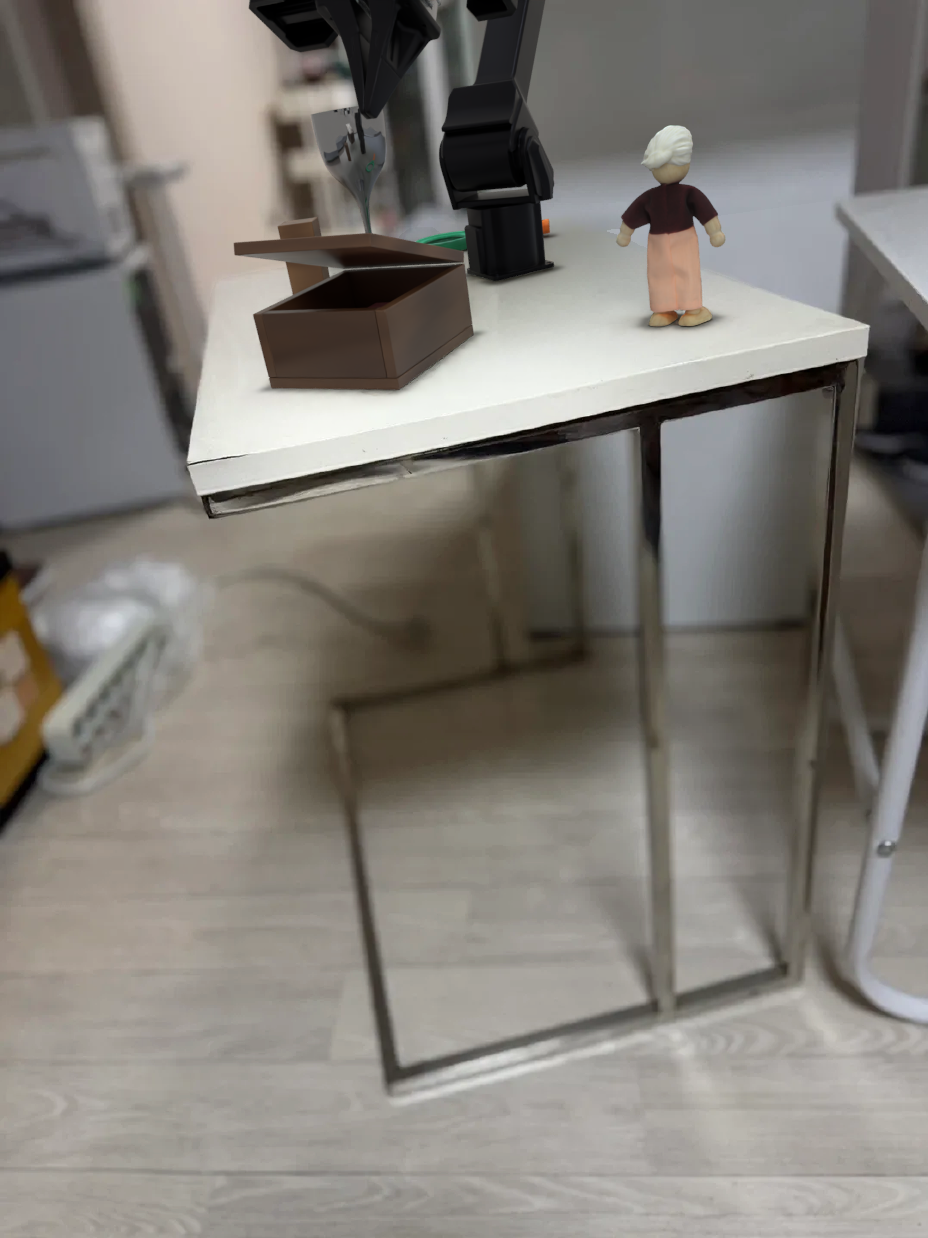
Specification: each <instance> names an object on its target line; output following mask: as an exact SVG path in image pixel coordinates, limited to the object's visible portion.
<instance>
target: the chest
mask: <svg viewBox="0 0 928 1238" xmlns="http://www.w3.org/2000/svg"><path fill="white" fill-rule="evenodd" d="M382 302H389V303H388V304H386V305H384V306H382V307H381V308H380V307H373V308H368V307H369V306H371V305H373V304H375V303H382ZM252 316H253V321H254V326H255V328H256V333H257V337H258V340H259V345H260V349H261V352H262V356H263V361H264V364H265V369H266V373H267V377H268V381H269V384H270V388H271V389H288V390H289V389H290V390H291V389H292V390H293V389H294V390H298V389H299V390H300V389H301V390H377V391H378V390H382V391H383V390H385V391H387V390H389V391H390V390H391V391H399V390H401V389H403V388H404V387H405V386H407V384H409V383H410V382H411V381H413V380H414V379H416V378H417V377H419V376H420V375H421V374H422V373H424V372H425V371H427V370H428V369H430V368H431V367H432V366H433V365H435V364H436V363H437V362H439V361H440V360H441V359H443V358H444V357H445V356H447V355H448V354H450V353H451V352H452V351H454V350H455V349H456V348H458V347H459V346H460V345H462V344H463V343H465V341H467V340H468V339H470V338H472V337H473V336H474V334H475V332H474V325H473V316H472V311H471V302H470V294H469V287H468V278H467V269H466V264H465V263H448V264H429V265H410V266H391V267H373V268H354V269H343V270H342V271H340V272H337V273H335V274H334V275H331V276H330V277H329V278H327V279H325V280H323V281H321V282H319V283H317V284H315V285H313V286H311V287H308V288H306V289H304V290H302V291H300V292H298V293H296V294H294V295H293V294H292V295H290V296H287V297H286V298H284V299H281V300H279V301H277V302H276V303H273V304H271V305H269V306H267V307H265V308H263V309H261V310H259V311H256V312H255V313H253V314H252Z"/></svg>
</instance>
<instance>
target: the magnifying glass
mask: <svg viewBox="0 0 928 1238" xmlns="http://www.w3.org/2000/svg"><path fill="white" fill-rule="evenodd" d="M542 226H543V235H547V234H550V233H551V228H550V219H549V218H544V219H542ZM415 242H419V243H424V244H429V245H434V246H439V247H445V248H450V249H455V250H460V251H465V250H467V246H466V238H465V230H456V231H449V232H442V233H437V234H433V235H429V236H425V237H423V238H422V237H421V238H420V239H419V238H418V239H417V240H415Z"/></svg>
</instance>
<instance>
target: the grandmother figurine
mask: <svg viewBox="0 0 928 1238" xmlns="http://www.w3.org/2000/svg"><path fill="white" fill-rule="evenodd" d="M692 138H693V135H692V134H691V130H689V129H687V128H686V127H685V126H682V125H667V126H665V127H664V128H662V129H661V130H659V131H657V132H656V133H655V135H654V136H653V137H652V138H650V141H649V143H648V144H647V147H646V150H645V151H644V154H643V159H642V161H641V163H640V166H644V167H645V168H646V169H648V170H649V171H650V172H651V174H652V177H653V178H654V180H656V182H658V183H659V184H660V185H657V186H654V187H651V188H649V189H647V190H645V191H644V192H642V193H641V194H640V195H638V196H637V197H636V198H635V199H633V201H632V202H631V203H630V204H629V205H628V207H627V208H626V209H625V210H624V212H623V213H622V214H621V216H620V218H621V220H622V221H621V224H620V227H619V233H618V234H617V236H616V239H615V242H616V244H617V246H619V247H620V248H625V247H627V246H629V245H630V243H631V241H632V235H633V234H634V233H635V231H636V229H639V228H642V227H644V226H646V225H649V230H648V234H647V246H646V247H647V248H646V249H647V250H646V251H647V252H646V277H647V280H646V281H647V288H648V298H649V299H648V301H649V311H651V312H653V313H652V314H651V316H650V319H649V322H648V326H650V327H665V326H669V325H670V324H672V323H675V321H676V320H678V323H677V325H679V326H681V327H694V326H697V325H700V324H703V323H705V322H708V321H710V320H711V319H713V315H712V312H711V310H710V309H709V308H707V307H706V306H703V285H702V273H701V258H700V243H699V236H698V232H697V230H696V226H695V222H694V218H695V219H696V220H697V221H698V222H699V224H701V226H702V227H703V228H704V230H705V233H706V235H708V237H709V243H710V245H711V246H712V247H714V248H720V247H722V246H723V245H725V243H726V235H725V233H724V232H723V231H722V224H721V221H720V219H719V213H718V211H717V210H716V208H715V207H714V205H713V203H712V202H711V201H710V199H709V198H708V197H707V195H706V194H705V193H704V192H703V191H702V190H701V189H700V188H697V187H696V186H694V185H691V184H686V183H681V182H682V181H683V180H684V179H685V178H686V177H687V175H688V173H689V171H690V168H691V159H692V154H693V147H694V143H693V139H692ZM677 311H685V312H684V313H683V314H682V315H681V316H680V318H679V315H678V313H677ZM678 318H679V319H678Z"/></svg>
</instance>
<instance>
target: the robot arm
mask: <svg viewBox="0 0 928 1238" xmlns="http://www.w3.org/2000/svg"><path fill="white" fill-rule="evenodd" d="M545 4H546V0H466V5H465V8H466V9H467V11H468V12H469V13H470V15H471V16H473V18H474V19H475V20H476V21H477V22H485V21H486V23H485V27H484V33H483V38H482V43H481V49H480V53H479V60H478V64H477V69H476V74H475V79H474V83H473V84H472V85H471V84H470V85H463V86H457V87H453V88H452V90H451V92H450V93H449V96H448V98H447V109H446V115H445V119H444V122H443V124H442V126H441V128H440V129H441V132H442V133H443V135H442V139H441V141H440V143H439V148H438V161H439V167H440V171H441V174H442V178H443V181H444V185H445V189H446V191H447V194H448V198H449V201H450V205H451V208H452V210H453V211H459V210H461V209H466V216H467V225H465V226H464V230H463V231H465V238H466V246H467V249H466V252H467V253H466V254H467V260H468V262H467V263H468V267H467V268H466V274H468V275H471V276H475V277H478V278H482V279H484V280H488V281H492V282H500V281H505V280H508V279H512V278H517V277H520V276H521V277H522V276H524V275H528V274H529V275H530V274H532V273H536V272H541V271H545V270H549V269H553V268H555V262H554V261H553V260H552V261H551V260H548V259H546V250H545V239H544V234H543V226H542V220H543V216H542V214H543V213H542V203H541V202H544V201H549V200H552V199H554V187H555V179H554V177H555V176H554V175H555V170H554V168H553V166H552V164H551V161H550V159H549V157H548V155H547V153H546V150H545V148H544V147H543V144H542V142H541V139H540V137H539V133H540V132H539V129H538V126H537V124H536V122H535V120H534V117H533V115H532V113H531V110H530V109H529V106H528V96H529V91H530V86H531V80H532V75H533V74H532V73H533V69H534V63H535V59H536V53H537V48H538V42H539V36H540V32H541V25H542V20H543V14H544V9H545ZM441 5H442V0H248V9H249V11H250V12H251V13H252V14H253V15H254V16H256V18H257V19H259V21H261V22H262V23H263V24H264V26H266V27H267V29H269V30H270V31H271V32H272V33H273V34H274V35H275V37H277V38H278V39H279V40H280V41H281V42H282V43H283V44H284V45H285V46H286V47H288V49H290V50H292V51H293V52H294V51H295V52H297V53H305V52H311V51H317V50H323V49H328V48H330V47H331V46H332V44H333V43H334V41H335V40H337V38H338V37H340V39H341V42H342V45H343V47H344V51H345V54H346V58H347V62H348V66H349V71H350V75H351V79H352V80H351V81H352V84H353V90H354V94H355V97H356V102H357V106H359V111H360V113H361V114H362V115H363V116H364V117H365V118H366V119H375V118H377V117H378V116H379V114H380V112H381V111H382V109H383V108H385V107H386V104H387V103H388V102H389V100H390V99H391V96H392V95H393V93H394V92H395V91H396V88H397V87H398V86H399V84H400V82H401V81H402V79H403V78H404V76H405V74H406V73H407V72H408V71H409V70H410V67H412V65H413V63H414V62H415V61H416V60H417V59H418V57H419V56H420V55H421V54H422V52H423V50H424V49H425V48H426V47H427V46H428V44H429V43H430V42H431V41H436V40H438V39H439V38H440V37H441V32H442V28H441V26H440V25H439V24H438V22H437V17H438V8H439V7H440V6H441ZM524 186H526V188H522V187H524ZM514 188H522V189H514ZM502 189H503V190H502ZM504 189H509V190H504ZM510 189H511V190H510ZM493 190H497V191H493ZM498 190H499V191H498ZM481 191H487V192H481Z"/></svg>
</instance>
